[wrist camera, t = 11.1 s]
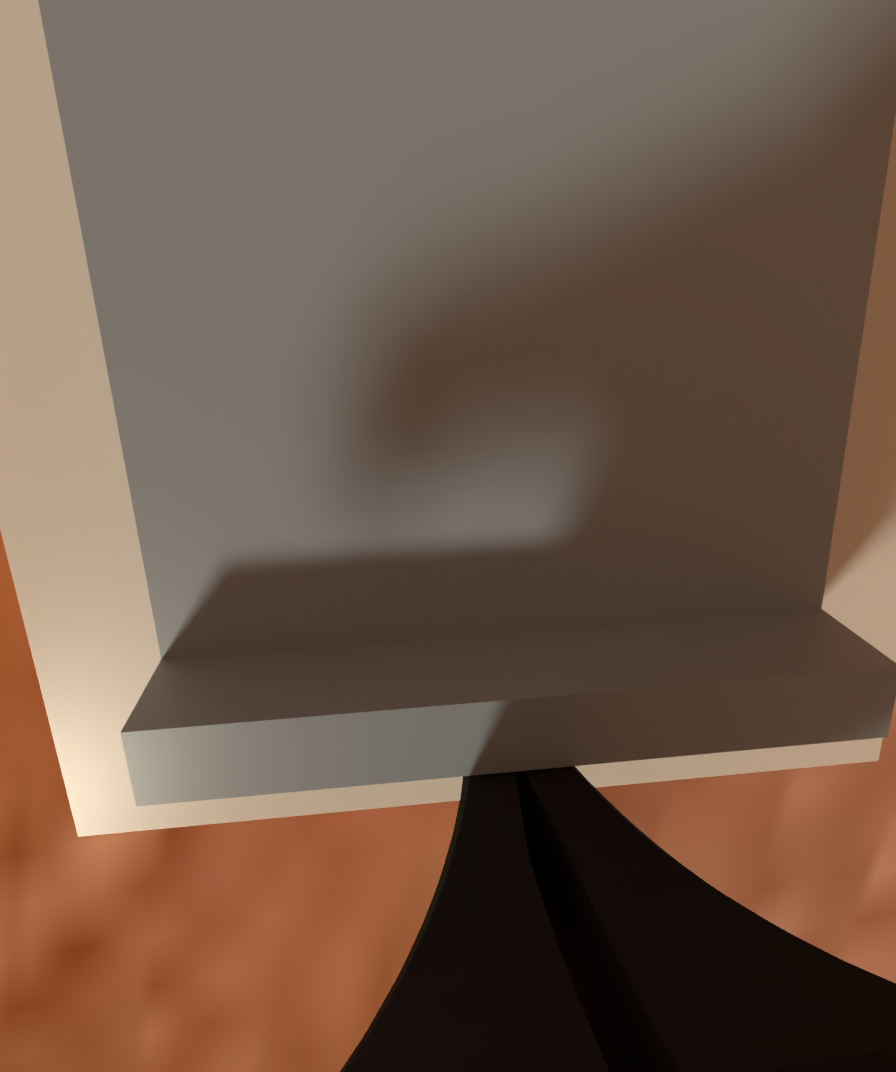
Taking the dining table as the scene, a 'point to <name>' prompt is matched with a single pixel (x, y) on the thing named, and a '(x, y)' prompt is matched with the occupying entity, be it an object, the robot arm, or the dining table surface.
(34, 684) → the dining table surface
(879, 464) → the housing
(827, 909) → the dining table surface
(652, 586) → the cover
